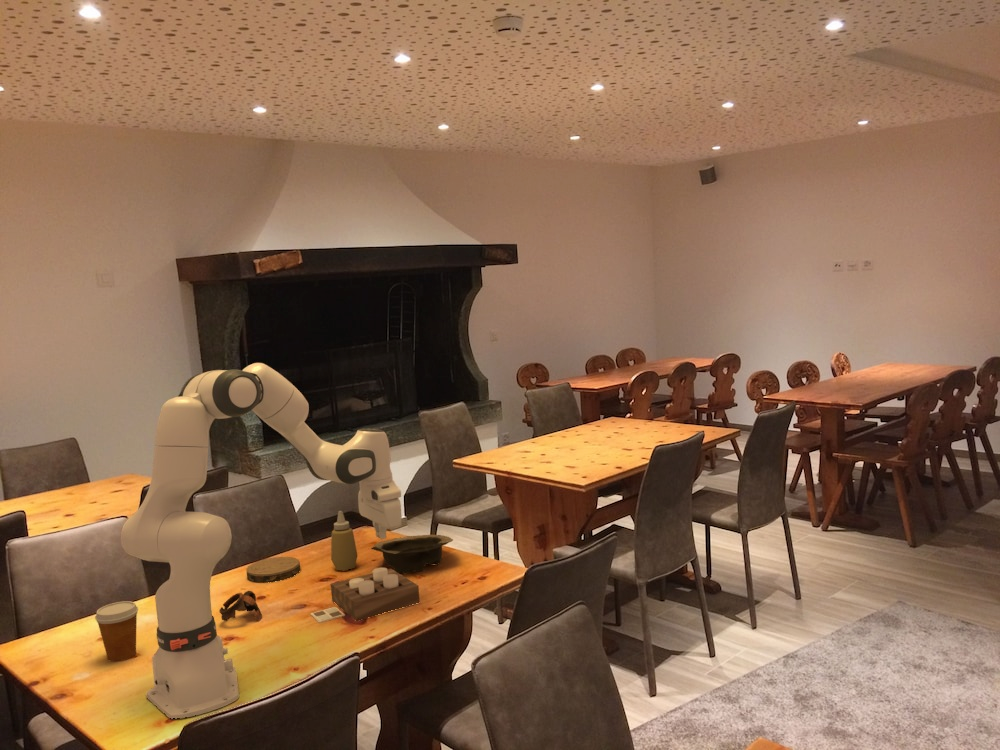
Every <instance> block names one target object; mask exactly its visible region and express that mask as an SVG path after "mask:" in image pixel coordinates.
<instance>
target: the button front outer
mask: <svg viewBox="0 0 1000 750" xmlns="http://www.w3.org/2000/svg"><path fill="white" fill-rule="evenodd" d="M383 585H384V589H386V590H387V589H391V588H395V587H398V586H399V584H398V575H396V574H388V575H385V576H383Z"/></svg>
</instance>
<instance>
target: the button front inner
mask: <svg viewBox="0 0 1000 750" xmlns="http://www.w3.org/2000/svg"><path fill="white" fill-rule="evenodd" d="M358 585H359V595H360V596H365V595H368V594H372V593H375V592H374V582H373V581H371V580H365V581H361V582H359V583H358Z"/></svg>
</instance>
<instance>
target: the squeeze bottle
mask: <svg viewBox="0 0 1000 750" xmlns="http://www.w3.org/2000/svg"><path fill="white" fill-rule="evenodd" d="M330 538H331V539H330V540H331V542H330V543H331V551H330V558H331V561H332V564H333V567H334V568H335V570H336V569H337V570H336V571H338V570H346V571H349V570H348V569H351V570H353V569H355V568H356V563H357V560H358V559H357V558H358V551H357V546H356V540H355V536H354V530H353V528H351V527H350V521H348V520H346V518H345V515H344V512H343V511H342V510H338V512H337V520H336V522H334V523H333V530H332V531H331V537H330ZM352 568H353V569H352Z"/></svg>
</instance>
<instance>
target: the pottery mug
mask: <svg viewBox="0 0 1000 750" xmlns="http://www.w3.org/2000/svg"><path fill="white" fill-rule="evenodd" d="M256 601H257V598H256V594H255V593H254V591H253V590H246V591H245V592H244V593H243V592H237V593H235V594H233V595H232V596H230V597H229V598H228V599H227V600H225V602H224V603H223V604H222V606H221V607H220V609H219V613H220V615H221V620H222V621H225V622H227V621H228V620H230V619H237V617H236V611H237V612H245V611H247V612H254V611H255V613H254V614H253V617H255V619H256V622H260V621H261V619H262V617H263V614H262V611H261V609H260V608H259V605H258V604H257V602H256Z"/></svg>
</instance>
